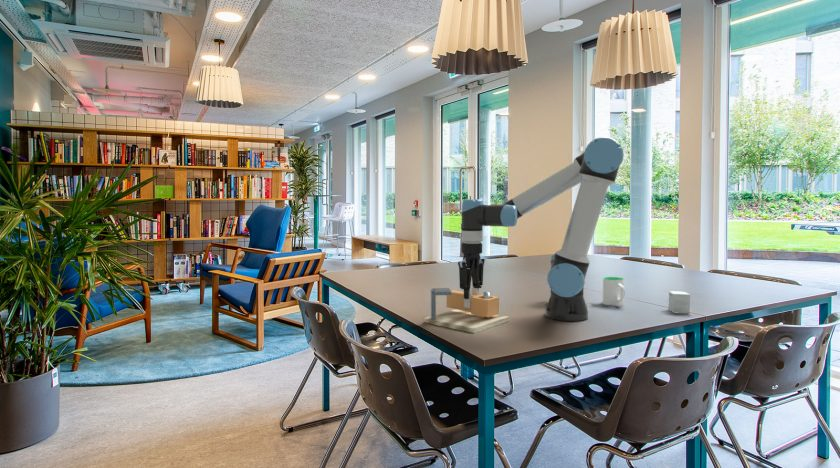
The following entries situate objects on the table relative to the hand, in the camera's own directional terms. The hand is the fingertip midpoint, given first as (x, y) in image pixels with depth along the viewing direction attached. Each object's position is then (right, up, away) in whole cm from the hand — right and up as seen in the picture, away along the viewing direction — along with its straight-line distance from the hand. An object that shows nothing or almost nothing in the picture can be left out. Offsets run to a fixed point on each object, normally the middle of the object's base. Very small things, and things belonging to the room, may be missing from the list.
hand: (471, 306), depth 186 cm
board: (-2, -5, -4) cm, 6 cm away
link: (0, -2, 0) cm, 2 cm away
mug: (+61, -3, +23) cm, 65 cm away
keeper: (-11, -3, -5) cm, 13 cm away
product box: (+80, -4, +10) cm, 81 cm away
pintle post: (+5, -3, -4) cm, 7 cm away
